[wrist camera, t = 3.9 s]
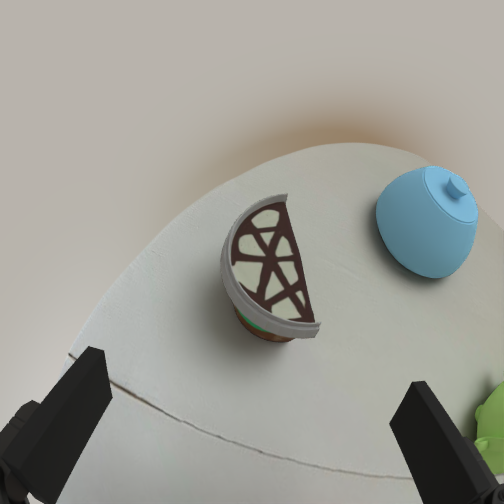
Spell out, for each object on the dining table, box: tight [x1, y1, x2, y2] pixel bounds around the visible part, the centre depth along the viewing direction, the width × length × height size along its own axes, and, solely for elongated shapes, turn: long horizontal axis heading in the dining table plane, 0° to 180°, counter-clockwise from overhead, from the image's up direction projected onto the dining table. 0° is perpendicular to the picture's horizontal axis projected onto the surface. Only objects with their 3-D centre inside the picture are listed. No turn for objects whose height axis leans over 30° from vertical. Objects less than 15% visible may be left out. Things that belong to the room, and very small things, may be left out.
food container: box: [221, 193, 321, 342], centre depth 25 cm, size 12×6×10 cm, turn 9°
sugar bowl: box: [376, 166, 478, 278], centre depth 31 cm, size 15×15×12 cm
